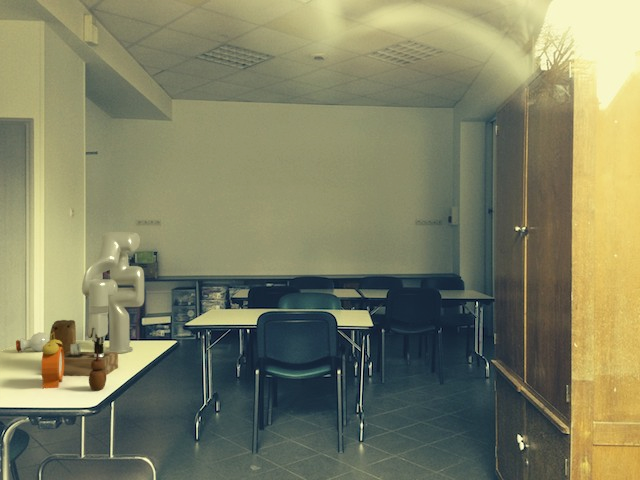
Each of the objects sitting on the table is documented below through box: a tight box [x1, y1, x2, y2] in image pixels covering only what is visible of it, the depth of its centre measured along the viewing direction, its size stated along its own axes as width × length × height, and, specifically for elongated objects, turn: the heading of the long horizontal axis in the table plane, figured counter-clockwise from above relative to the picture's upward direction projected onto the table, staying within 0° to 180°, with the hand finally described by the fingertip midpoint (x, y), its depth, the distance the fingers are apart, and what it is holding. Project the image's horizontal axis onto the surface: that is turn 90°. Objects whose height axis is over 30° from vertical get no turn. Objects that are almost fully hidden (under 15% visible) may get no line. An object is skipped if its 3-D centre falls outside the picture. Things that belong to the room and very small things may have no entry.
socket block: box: [63, 351, 119, 377], centre depth 232 cm, size 14×22×7 cm, turn 89°
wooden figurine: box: [88, 349, 107, 391], centre depth 206 cm, size 7×6×15 cm
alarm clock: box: [41, 332, 64, 390], centre depth 212 cm, size 13×6×20 cm, turn 17°
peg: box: [70, 342, 82, 357], centre depth 231 cm, size 4×4×7 cm
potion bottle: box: [15, 332, 50, 353], centre depth 271 cm, size 9×10×15 cm
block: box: [49, 319, 77, 353], centre depth 243 cm, size 11×8×20 cm
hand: (98, 353), depth 231 cm, fingers closed
